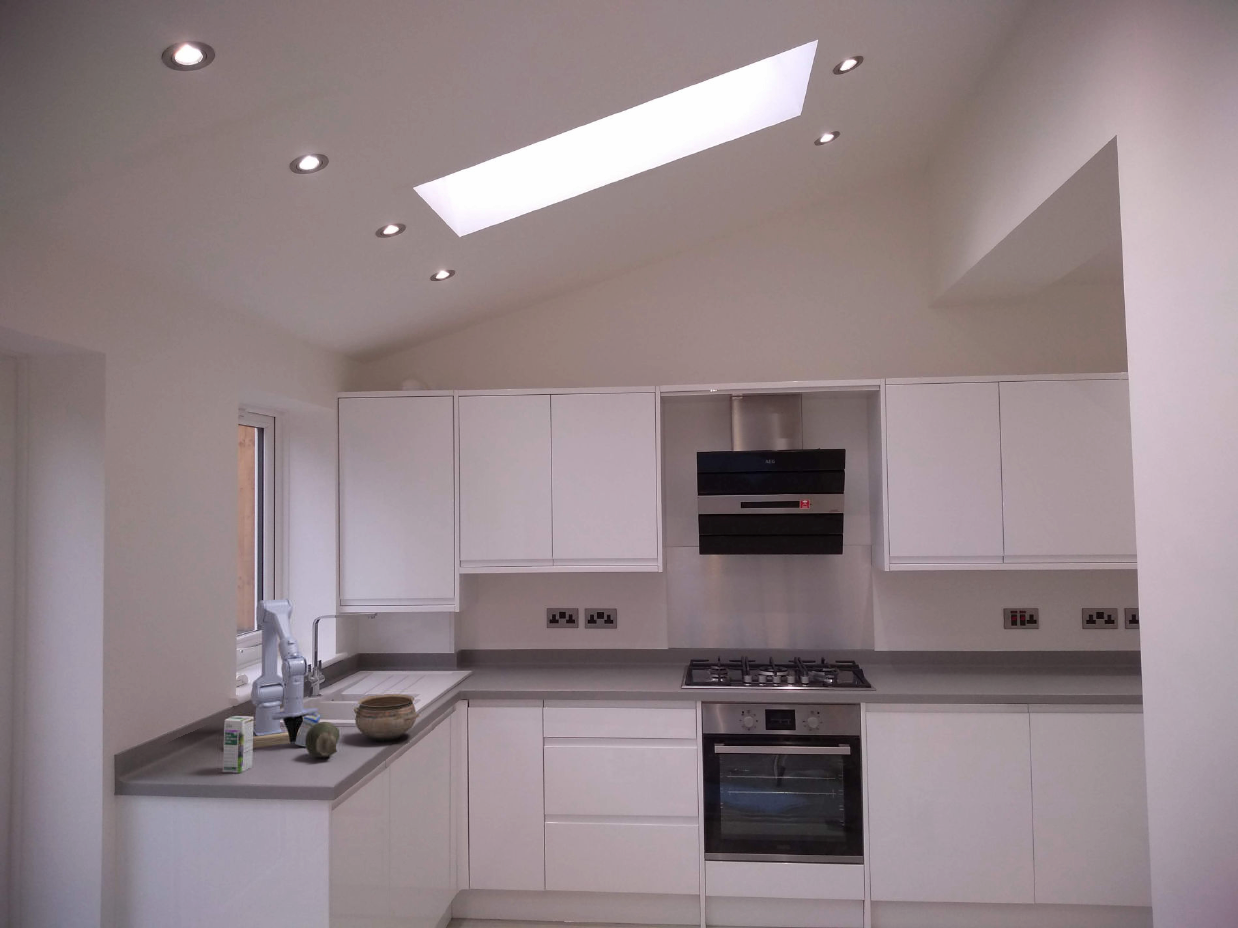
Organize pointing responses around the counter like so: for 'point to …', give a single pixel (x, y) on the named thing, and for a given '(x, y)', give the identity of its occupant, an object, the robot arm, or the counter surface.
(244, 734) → the syrup box
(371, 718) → the cooking pot
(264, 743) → the pine board
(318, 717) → the medicine box
